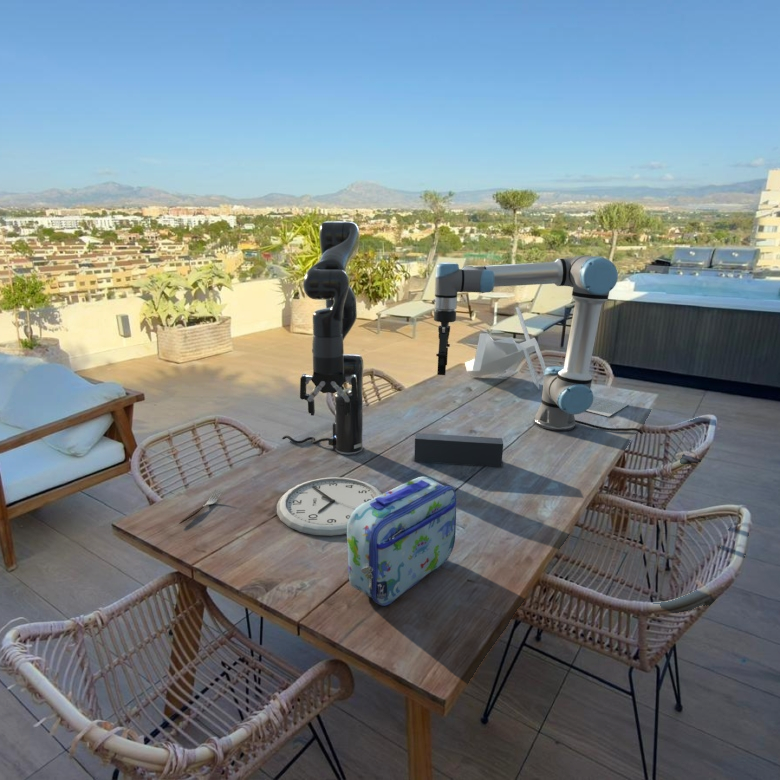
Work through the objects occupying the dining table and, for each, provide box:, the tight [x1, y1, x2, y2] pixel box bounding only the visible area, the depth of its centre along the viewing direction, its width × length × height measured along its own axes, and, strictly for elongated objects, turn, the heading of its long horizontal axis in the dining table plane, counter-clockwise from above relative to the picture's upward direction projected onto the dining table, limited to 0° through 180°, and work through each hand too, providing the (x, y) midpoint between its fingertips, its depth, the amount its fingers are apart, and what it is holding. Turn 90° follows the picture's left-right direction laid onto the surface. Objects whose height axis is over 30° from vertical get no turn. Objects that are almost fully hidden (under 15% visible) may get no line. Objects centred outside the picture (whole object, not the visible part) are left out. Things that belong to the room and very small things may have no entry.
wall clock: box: [276, 476, 384, 537], centre depth 142 cm, size 30×2×30 cm
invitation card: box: [585, 396, 629, 418], centre depth 226 cm, size 21×1×15 cm
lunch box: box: [346, 475, 457, 607], centre depth 111 cm, size 26×11×21 cm, turn 134°
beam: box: [413, 432, 504, 468], centre depth 170 cm, size 28×5×8 cm, turn 83°
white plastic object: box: [464, 306, 547, 390], centre depth 260 cm, size 37×45×31 cm
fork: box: [178, 489, 223, 525], centre depth 139 cm, size 3×16×2 cm, turn 160°
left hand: (329, 414), depth 133 cm, fingers open, 8 cm apart
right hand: (442, 369), depth 184 cm, fingers open, 13 cm apart
